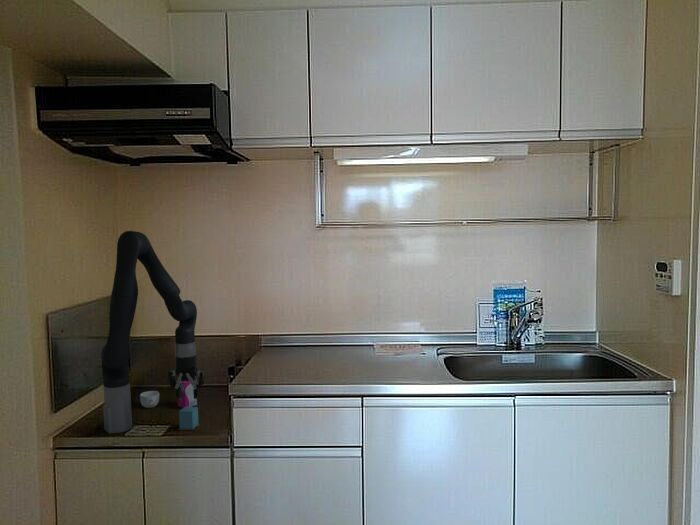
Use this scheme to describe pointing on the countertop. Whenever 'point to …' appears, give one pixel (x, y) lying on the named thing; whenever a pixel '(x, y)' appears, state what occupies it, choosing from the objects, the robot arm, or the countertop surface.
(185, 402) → the supplement box
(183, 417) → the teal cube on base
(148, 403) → the teacup
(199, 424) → the dark stepped block
